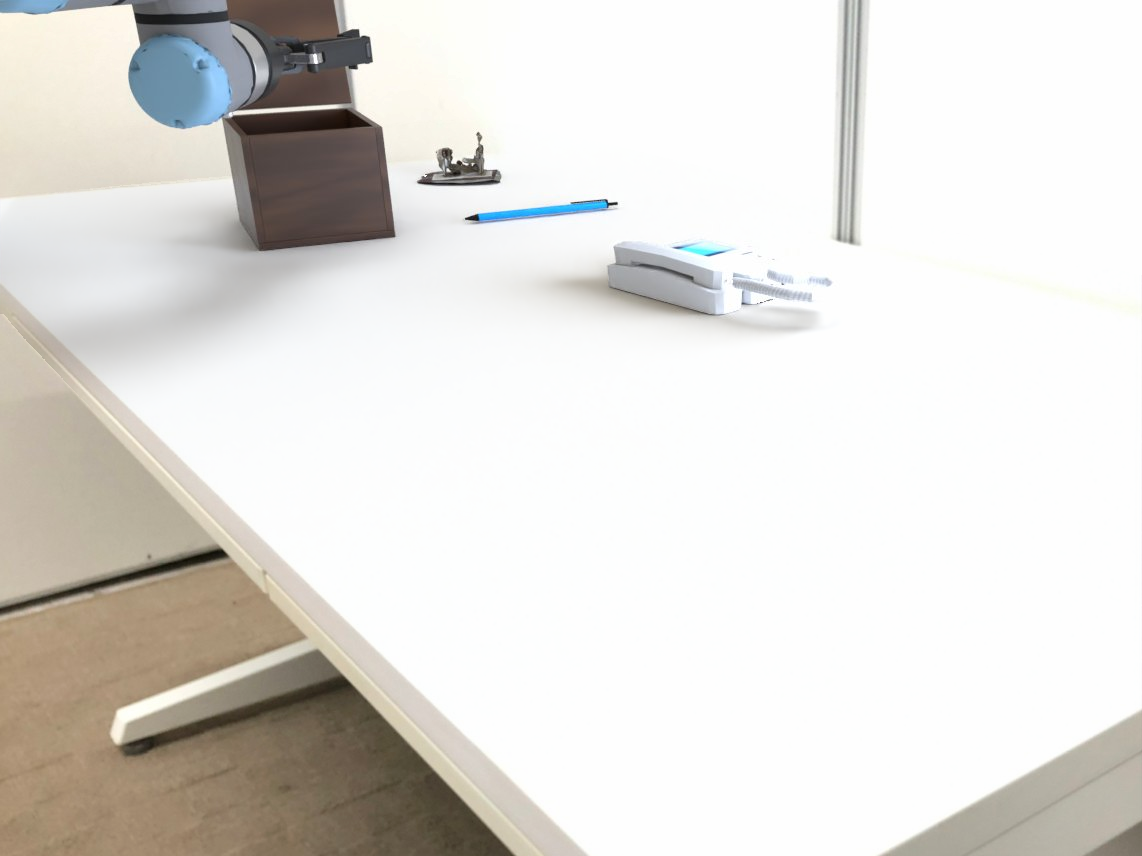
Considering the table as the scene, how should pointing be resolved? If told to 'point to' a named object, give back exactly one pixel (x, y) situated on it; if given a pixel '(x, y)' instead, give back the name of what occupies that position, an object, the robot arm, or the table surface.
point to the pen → (543, 210)
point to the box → (309, 177)
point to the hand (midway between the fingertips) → (294, 42)
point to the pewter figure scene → (461, 168)
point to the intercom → (714, 275)
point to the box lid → (305, 11)
